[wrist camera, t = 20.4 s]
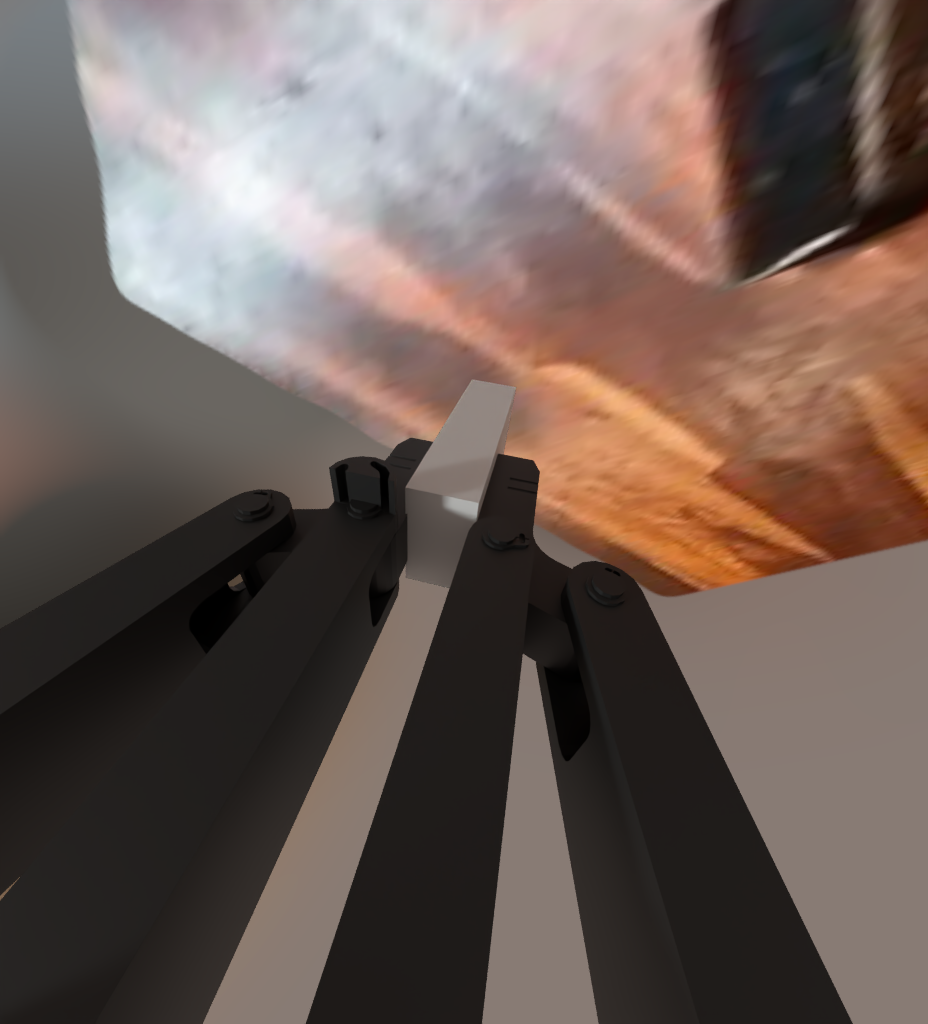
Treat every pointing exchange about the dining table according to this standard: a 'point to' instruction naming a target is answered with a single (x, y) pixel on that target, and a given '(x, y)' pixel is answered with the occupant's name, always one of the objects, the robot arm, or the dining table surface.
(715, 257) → the dining table surface
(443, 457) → the robot arm
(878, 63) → the dining table surface
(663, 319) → the dining table surface
